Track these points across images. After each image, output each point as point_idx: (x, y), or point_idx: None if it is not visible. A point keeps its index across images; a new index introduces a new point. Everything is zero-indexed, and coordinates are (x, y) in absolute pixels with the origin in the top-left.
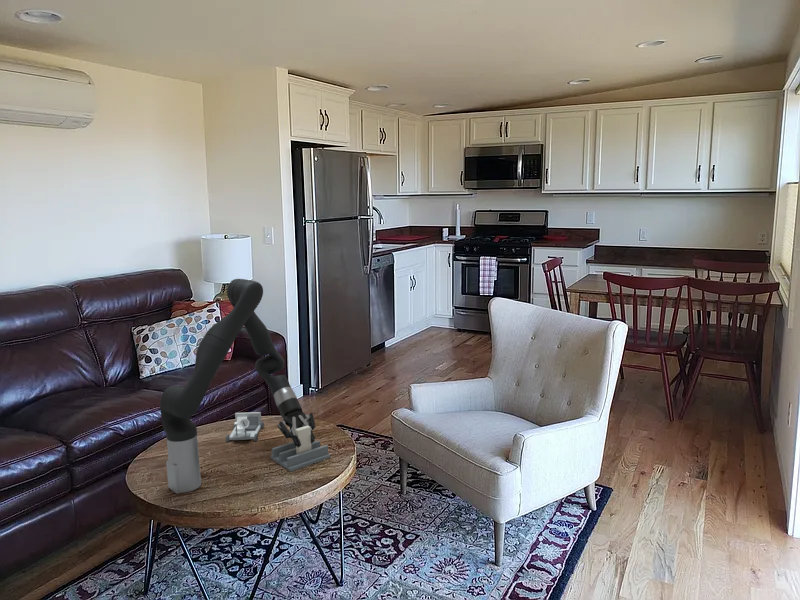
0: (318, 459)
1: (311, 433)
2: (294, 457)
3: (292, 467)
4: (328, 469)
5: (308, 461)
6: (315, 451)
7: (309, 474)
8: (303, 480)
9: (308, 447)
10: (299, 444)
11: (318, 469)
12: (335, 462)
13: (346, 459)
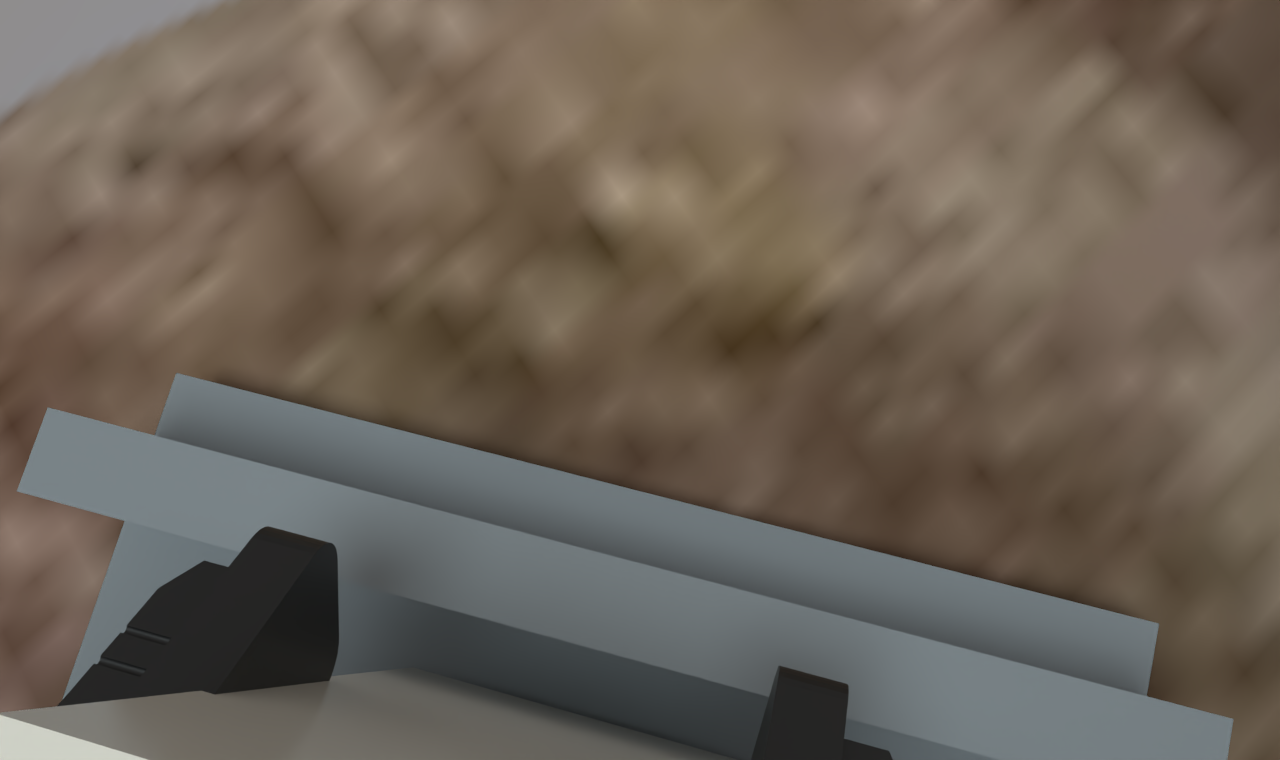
0: (457, 447)
1: None
2: (1035, 667)
3: (1099, 623)
4: (611, 89)
5: (670, 536)
6: (413, 506)
7: (974, 229)
8: (1219, 149)
9: (447, 697)
10: (846, 687)
11: (717, 236)
12: (313, 179)
13: (112, 101)
